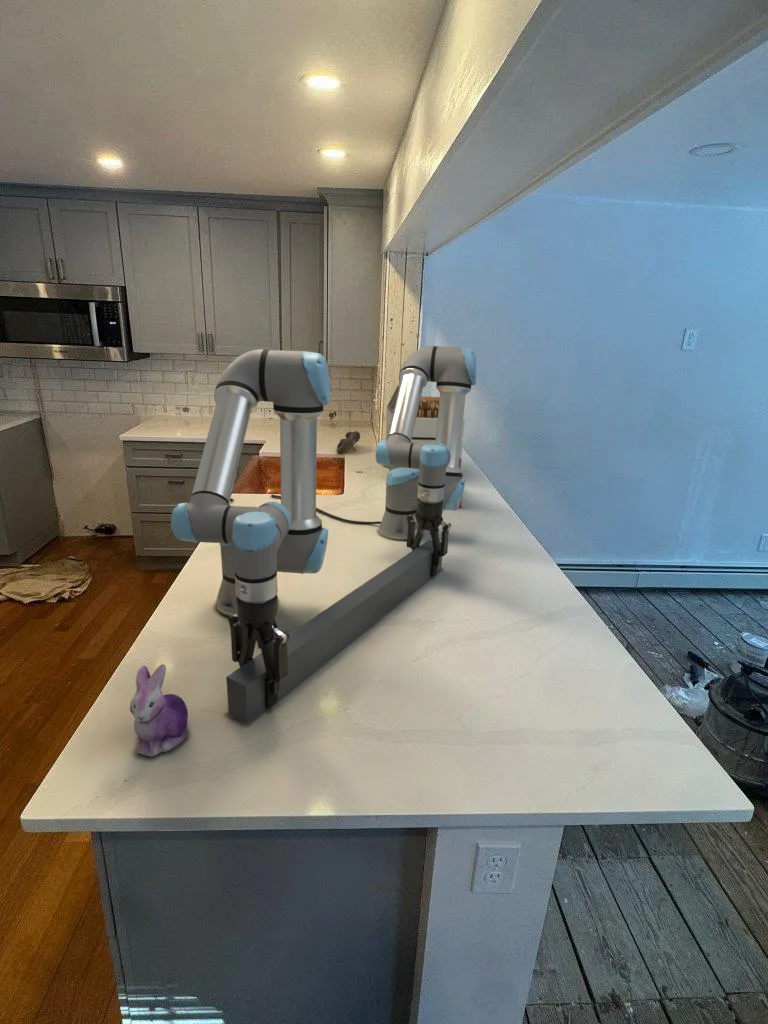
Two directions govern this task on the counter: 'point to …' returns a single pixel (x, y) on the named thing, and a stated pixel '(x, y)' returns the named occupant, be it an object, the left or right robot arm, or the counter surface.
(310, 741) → the counter surface
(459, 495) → the right robot arm
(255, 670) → the beam
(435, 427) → the grey bottle crate
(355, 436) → the fossil
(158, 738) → the figurine
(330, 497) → the counter surface
